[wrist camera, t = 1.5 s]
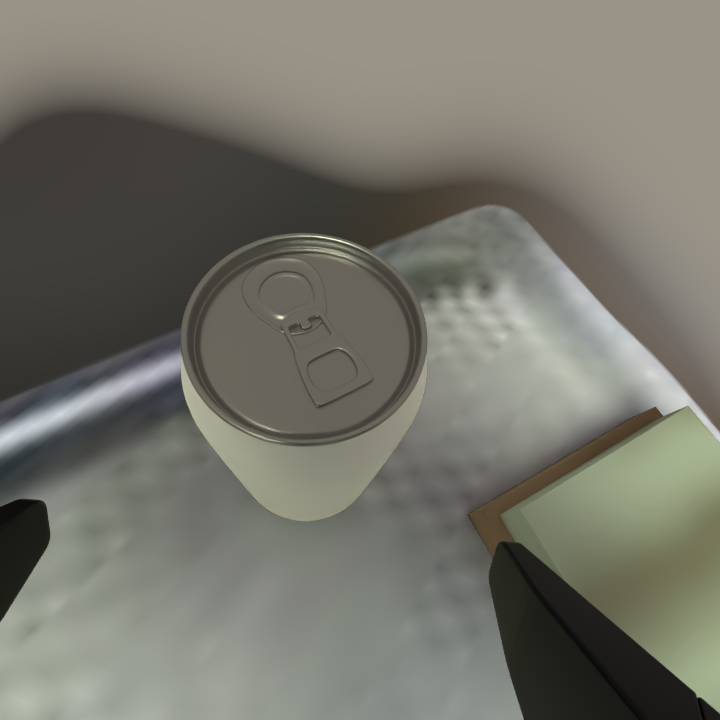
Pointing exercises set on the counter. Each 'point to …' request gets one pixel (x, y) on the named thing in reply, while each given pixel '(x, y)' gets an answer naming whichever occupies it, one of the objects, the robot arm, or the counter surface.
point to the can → (304, 368)
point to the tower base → (633, 535)
